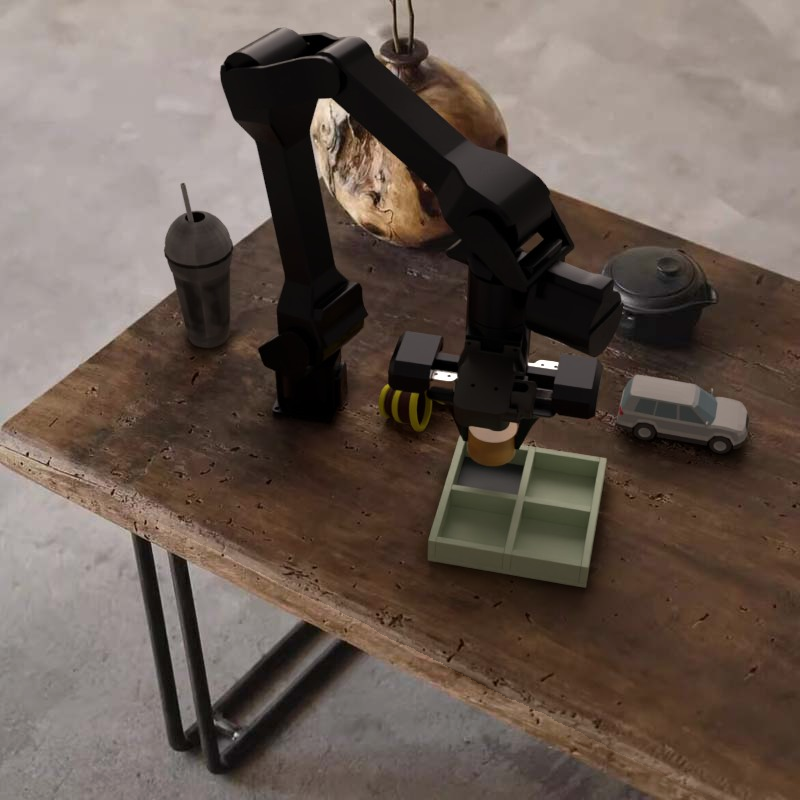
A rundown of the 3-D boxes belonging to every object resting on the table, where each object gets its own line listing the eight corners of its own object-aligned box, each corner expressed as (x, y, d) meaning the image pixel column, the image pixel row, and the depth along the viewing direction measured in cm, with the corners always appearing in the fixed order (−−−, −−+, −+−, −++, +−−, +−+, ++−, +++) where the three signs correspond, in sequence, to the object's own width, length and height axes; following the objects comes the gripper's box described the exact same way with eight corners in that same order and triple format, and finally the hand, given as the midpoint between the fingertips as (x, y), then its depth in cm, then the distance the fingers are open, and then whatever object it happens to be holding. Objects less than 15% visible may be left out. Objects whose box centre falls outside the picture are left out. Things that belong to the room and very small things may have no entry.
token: (462, 462, 123) (463, 438, 121) (472, 430, 127) (473, 406, 125) (511, 470, 123) (513, 446, 121) (519, 437, 126) (521, 414, 124)
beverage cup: (255, 329, 147) (241, 172, 134) (214, 363, 142) (195, 205, 129) (204, 308, 150) (185, 153, 137) (162, 341, 145) (138, 184, 132)
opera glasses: (436, 381, 141) (429, 341, 138) (475, 393, 138) (469, 353, 135) (378, 428, 135) (370, 388, 133) (418, 442, 132) (410, 401, 130)
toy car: (742, 460, 130) (751, 422, 127) (613, 437, 133) (618, 399, 130) (747, 423, 135) (755, 385, 131) (622, 401, 137) (627, 364, 134)
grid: (427, 560, 120) (427, 540, 119) (458, 455, 131) (459, 435, 129) (585, 588, 118) (588, 567, 116) (604, 478, 129) (607, 458, 127)
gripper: (371, 350, 109) (374, 485, 120) (596, 384, 106) (579, 519, 116) (402, 274, 118) (402, 406, 128) (611, 303, 114) (594, 436, 125)
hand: (491, 442), depth 124 cm, fingers closed on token, 4 cm apart
